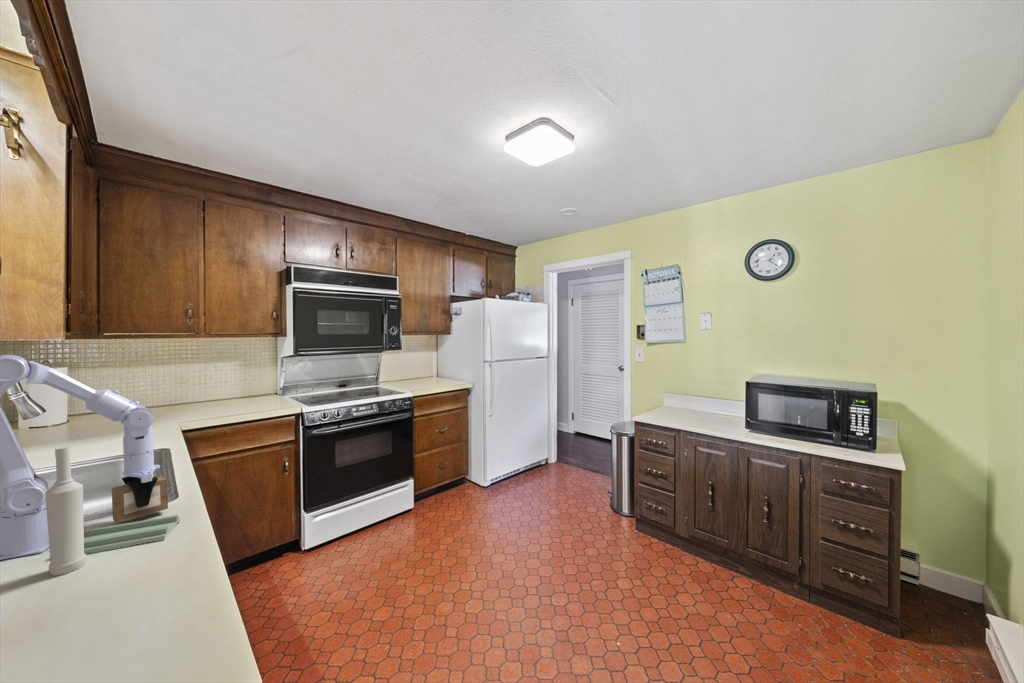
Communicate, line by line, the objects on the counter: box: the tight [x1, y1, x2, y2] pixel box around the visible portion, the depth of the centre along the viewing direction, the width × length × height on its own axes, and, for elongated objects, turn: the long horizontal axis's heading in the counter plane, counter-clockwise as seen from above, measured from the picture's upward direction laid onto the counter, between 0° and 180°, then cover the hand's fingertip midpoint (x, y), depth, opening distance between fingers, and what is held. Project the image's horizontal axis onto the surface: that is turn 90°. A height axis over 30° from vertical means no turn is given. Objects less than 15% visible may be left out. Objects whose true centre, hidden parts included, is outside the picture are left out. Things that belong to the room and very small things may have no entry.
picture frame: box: [111, 475, 169, 524], centre depth 104 cm, size 10×4×8 cm, turn 144°
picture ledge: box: [84, 514, 181, 555], centre depth 94 cm, size 18×10×2 cm, turn 114°
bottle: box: [45, 445, 87, 577], centre depth 82 cm, size 5×5×25 cm
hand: (140, 504), depth 104 cm, fingers closed on picture frame, 4 cm apart
